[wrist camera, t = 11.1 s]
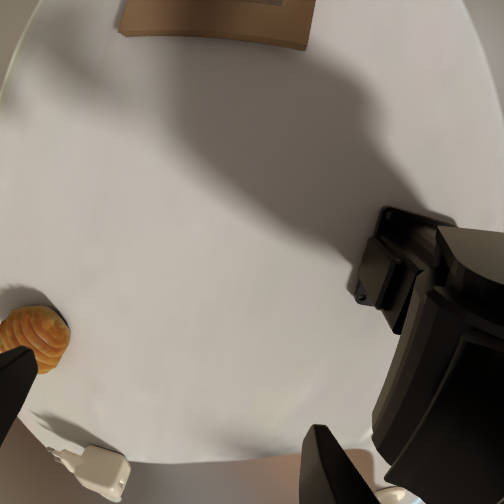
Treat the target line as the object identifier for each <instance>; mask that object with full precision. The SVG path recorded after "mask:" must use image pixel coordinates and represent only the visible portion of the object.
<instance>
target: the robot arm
mask: <svg viewBox="0 0 504 504" xmlns="http://www.w3.org/2000/svg"><path fill="white" fill-rule="evenodd" d="M388 211H391V216H390V217H389V218H386V213H387V212H388ZM357 275H358V277H359V281H358V284H357V287H356V290H355V293H354V298H355V301H356V302H357V303H358V304H361V305H367V306H373V307H375V308H376V309H377V310H381V311H382V313H383V315H384V317H385V318H386V320H387V322H388V324H389V326H390V328H391V329H392V331H393V333H394V334H397V335H401V336H400V339H399V342H398V345H397V348H396V351H395V354H394V357H393V360H392V363H391V366H390V369H389V371H388V374H387V377H386V380H385V382H384V385H383V387H382V390H381V393H380V395H379V398H378V400H377V403H376V405H375V407H374V410H373V412H372V430H373V434H372V441H373V443H374V445H375V447H376V450H377V451H378V452H379V454H380V455H381V456H382V457H383V458H384V460H385V461H386V462H387V463H388V464H389V465H391V468H390V469H389V471H388V472H387V473H386V475H385V476H384V480H385V481H386V482H388V483H391V484H394V485H396V486H399V487H402V488H405V489H407V490H408V491H410V492H411V493H413V494H415V495H416V496H418V497H419V498H421V499H422V500H423V501H424V502H425V503H426V504H504V233H502V232H493V231H485V230H476V229H466V228H459V227H457V226H454V225H451V224H448V223H445V222H442V221H439V220H435V219H432V218H429V217H426V216H423V215H419V214H416V213H413V212H409V211H406V210H402V209H399V208H396V207H392V206H384V207H383V208H382V209H381V211H380V214H379V218H378V221H377V225H376V228H375V231H374V235H372V236H371V237H370V238H369V239H368V242H367V246H366V249H365V252H364V255H363V258H362V261H361V265H360V268H359V271H358V274H357ZM362 294H365V296H364V297H363V298H359V296H360V295H362ZM37 373H38V364H37V361H36V357H35V354H34V351H33V350H32V349H31V348H29V347H27V346H25V345H21V346H18V347H16V348H13V349H11V350H8V351H5V352H3V353H0V447H1V445H2V443H3V441H4V439H5V437H6V435H7V433H8V431H9V430H10V428H11V426H12V424H13V422H14V421H15V419H16V417H17V415H18V413H19V412H20V410H21V408H22V406H23V404H24V402H25V399H26V397H27V395H28V393H29V391H30V388H31V386H32V384H33V382H34V380H35V378H36V375H37ZM299 504H381V503H380V502H379V500H378V499H377V498H376V496H375V495H374V493H373V492H372V491H371V489H370V488H369V486H368V485H367V484H366V482H365V481H364V479H363V478H362V476H361V475H360V474H359V472H358V471H357V469H356V468H355V467H354V465H353V463H352V462H351V461H350V459H349V458H348V457H347V455H346V453H345V452H344V450H343V449H342V448H341V446H340V445H339V443H338V442H337V440H336V439H335V437H334V436H333V434H332V433H331V431H330V430H329V428H328V427H327V426H326V425H320V424H313V425H312V426H311V427H310V429H309V431H308V433H307V434H306V436H305V438H304V440H303V444H302V456H301V468H300V481H299Z"/></svg>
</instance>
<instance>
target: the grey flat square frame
mask: <svg viewBox="0 0 504 504" xmlns="http://www.w3.org/2000/svg"><path fill="white" fill-rule="evenodd" d="M232 1H243V2H253V3H261V4H268V5H275V6H281V7H282V6H283V1H284V0H232Z"/></svg>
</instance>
